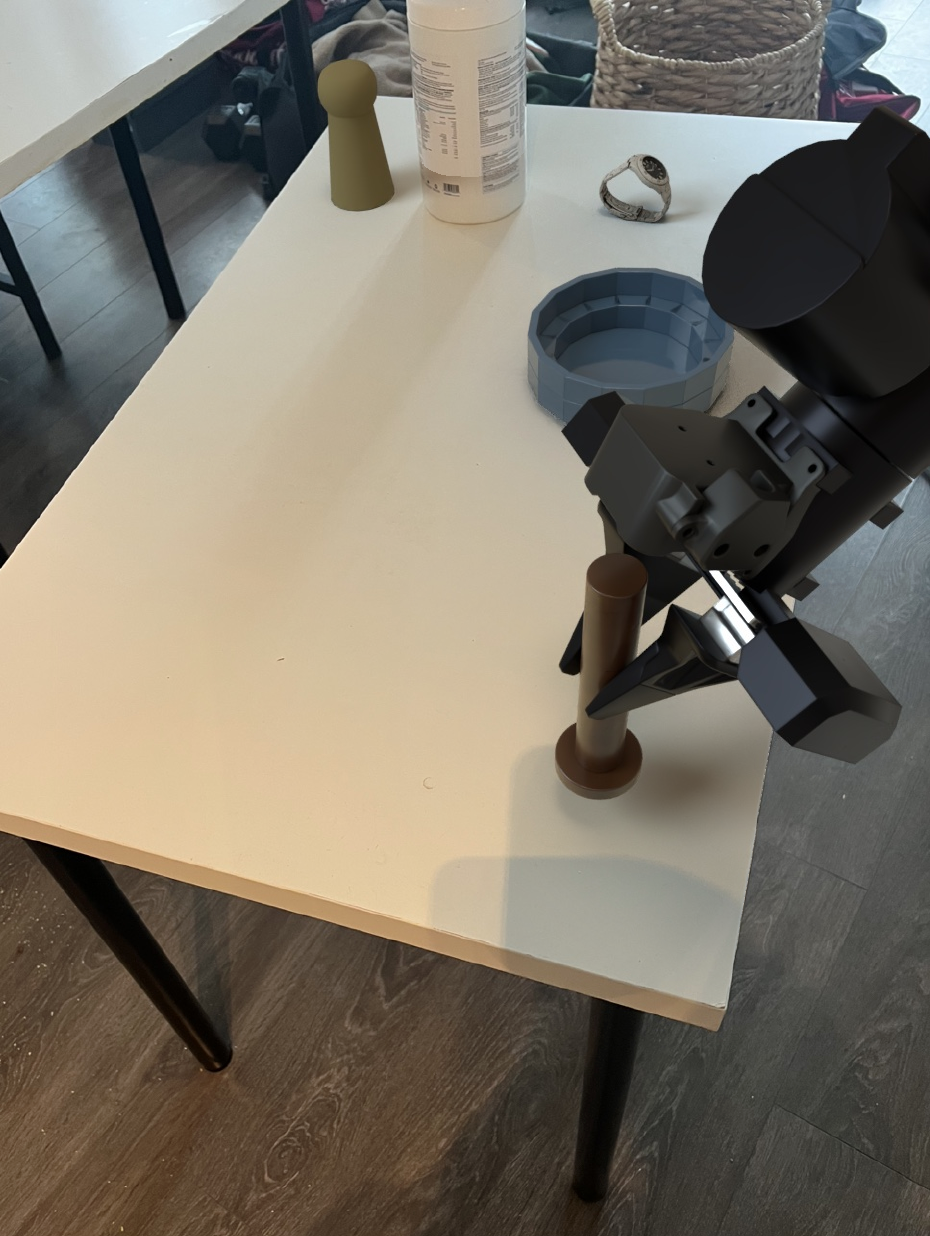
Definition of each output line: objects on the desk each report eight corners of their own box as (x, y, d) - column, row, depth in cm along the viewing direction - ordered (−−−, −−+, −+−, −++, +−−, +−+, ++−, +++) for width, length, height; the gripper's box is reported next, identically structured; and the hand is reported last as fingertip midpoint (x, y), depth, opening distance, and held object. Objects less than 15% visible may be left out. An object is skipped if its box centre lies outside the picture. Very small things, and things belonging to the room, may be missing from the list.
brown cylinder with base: (624, 719, 52) (651, 524, 40) (653, 789, 49) (691, 602, 37) (544, 738, 51) (547, 547, 40) (569, 809, 49) (580, 628, 37)
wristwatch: (662, 230, 83) (669, 171, 79) (593, 220, 85) (596, 162, 81) (674, 209, 85) (681, 150, 81) (606, 199, 87) (610, 141, 83)
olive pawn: (320, 190, 93) (298, 64, 84) (377, 170, 94) (360, 43, 85) (347, 218, 90) (326, 89, 81) (405, 196, 91) (391, 67, 82)
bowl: (682, 305, 77) (689, 251, 73) (755, 416, 69) (768, 362, 65) (507, 342, 76) (506, 290, 73) (560, 459, 68) (562, 407, 64)
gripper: (616, 208, 37) (379, 510, 44) (934, 530, 26) (550, 854, 34) (763, 330, 44) (538, 572, 52) (1057, 621, 33) (719, 871, 41)
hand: (578, 693), depth 44 cm, fingers closed on brown cylinder with base, 2 cm apart
